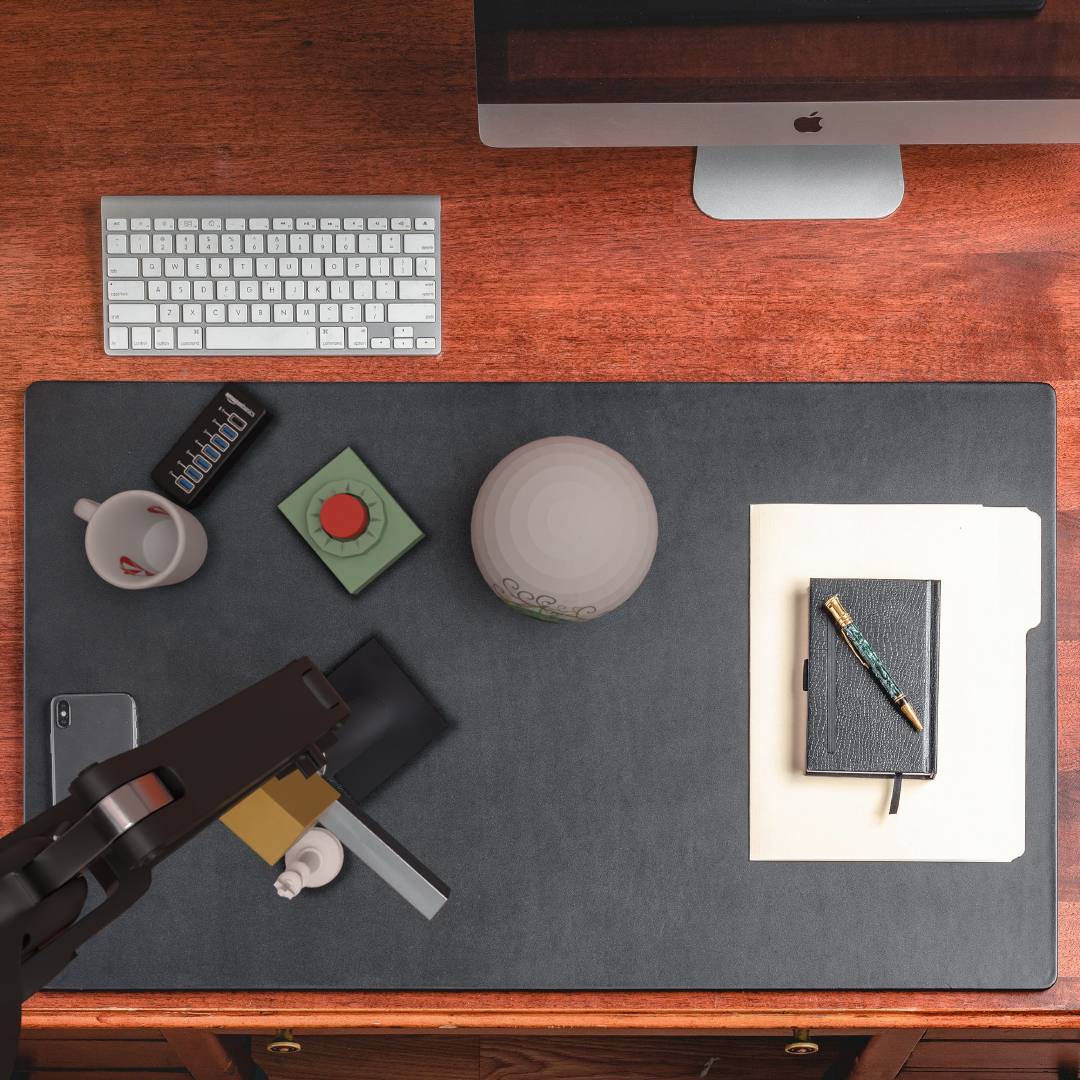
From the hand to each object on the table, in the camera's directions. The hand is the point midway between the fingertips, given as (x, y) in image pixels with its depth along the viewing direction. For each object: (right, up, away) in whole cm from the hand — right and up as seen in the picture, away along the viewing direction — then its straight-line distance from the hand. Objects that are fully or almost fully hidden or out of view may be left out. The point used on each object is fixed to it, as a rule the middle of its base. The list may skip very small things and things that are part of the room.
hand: (183, 826), depth 37 cm
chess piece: (-5, -15, +39) cm, 43 cm away
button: (-2, +14, +38) cm, 41 cm away
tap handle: (+3, -4, +16) cm, 17 cm away
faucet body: (0, -4, +40) cm, 40 cm away
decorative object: (+17, +12, +42) cm, 47 cm away
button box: (-2, +13, +42) cm, 44 cm away
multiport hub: (-14, +20, +43) cm, 49 cm away
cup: (-19, +12, +42) cm, 47 cm away
